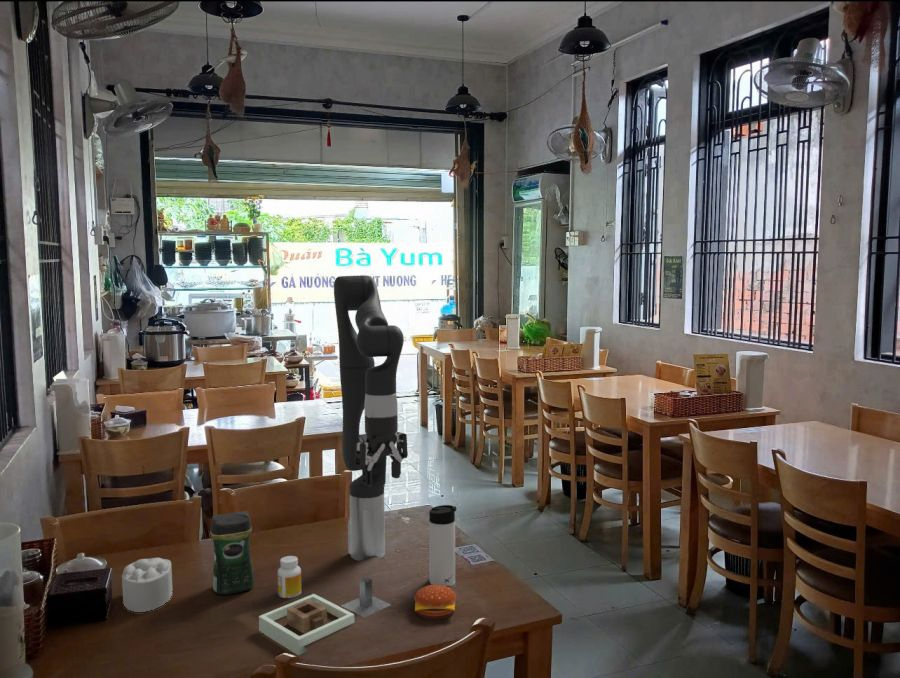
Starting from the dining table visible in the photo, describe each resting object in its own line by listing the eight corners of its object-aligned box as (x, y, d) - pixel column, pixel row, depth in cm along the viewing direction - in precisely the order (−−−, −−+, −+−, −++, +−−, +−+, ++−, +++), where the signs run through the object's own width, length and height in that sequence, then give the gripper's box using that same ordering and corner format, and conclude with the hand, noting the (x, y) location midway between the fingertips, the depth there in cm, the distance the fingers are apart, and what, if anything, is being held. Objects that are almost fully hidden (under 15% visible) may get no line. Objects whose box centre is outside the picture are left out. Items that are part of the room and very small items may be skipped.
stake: (341, 612, 162) (340, 580, 161) (368, 599, 168) (367, 569, 167) (364, 623, 157) (363, 591, 156) (391, 611, 163) (390, 579, 162)
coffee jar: (251, 578, 180) (249, 506, 178) (256, 591, 173) (253, 516, 171) (211, 584, 176) (208, 511, 175) (213, 598, 169) (210, 521, 167)
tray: (259, 630, 154) (258, 616, 154) (314, 607, 164) (313, 593, 164) (298, 655, 144) (298, 639, 144) (354, 629, 155) (354, 614, 154)
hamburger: (458, 626, 156) (457, 597, 155) (413, 627, 155) (413, 598, 155) (456, 605, 165) (455, 578, 164) (414, 607, 165) (413, 579, 164)
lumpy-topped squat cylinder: (174, 585, 176) (173, 551, 175) (167, 610, 163) (166, 573, 162) (129, 590, 173) (127, 556, 172) (118, 615, 161) (116, 578, 160)
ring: (287, 626, 154) (287, 609, 154) (310, 616, 158) (310, 599, 158) (308, 639, 149) (307, 620, 148) (331, 628, 153) (330, 610, 153)
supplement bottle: (306, 595, 170) (305, 556, 169) (294, 605, 165) (292, 565, 164) (286, 592, 172) (285, 553, 171) (273, 602, 167) (272, 561, 166)
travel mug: (453, 593, 171) (453, 512, 169) (426, 591, 173) (426, 510, 170) (458, 582, 177) (458, 503, 175) (432, 579, 179) (432, 501, 177)
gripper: (393, 406, 172) (393, 472, 174) (346, 415, 162) (347, 485, 163) (414, 410, 167) (415, 478, 169) (367, 419, 157) (369, 492, 158)
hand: (381, 481), depth 166 cm, fingers open, 8 cm apart
